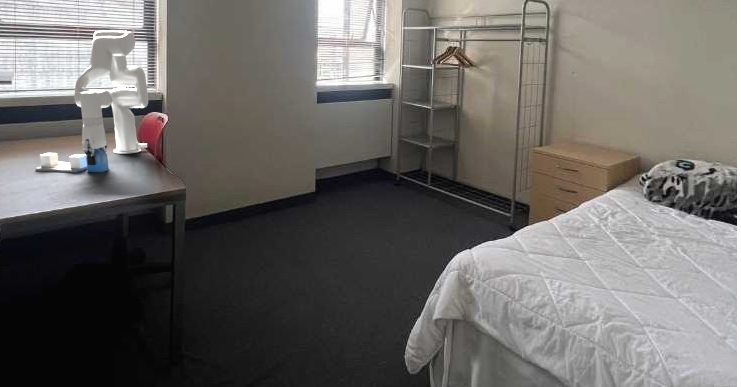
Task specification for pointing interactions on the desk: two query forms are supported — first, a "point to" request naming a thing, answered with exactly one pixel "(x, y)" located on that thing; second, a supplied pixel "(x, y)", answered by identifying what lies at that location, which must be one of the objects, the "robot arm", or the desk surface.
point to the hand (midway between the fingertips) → (97, 162)
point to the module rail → (62, 163)
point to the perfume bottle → (98, 162)
